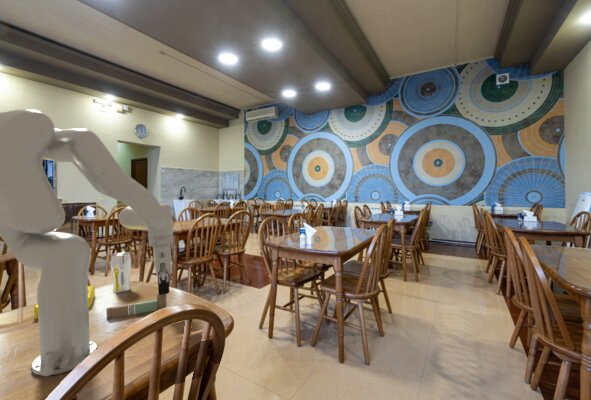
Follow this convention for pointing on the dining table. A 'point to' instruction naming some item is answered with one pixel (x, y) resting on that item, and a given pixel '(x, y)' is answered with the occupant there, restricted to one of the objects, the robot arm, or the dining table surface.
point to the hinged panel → (151, 304)
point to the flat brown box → (119, 311)
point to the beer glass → (121, 271)
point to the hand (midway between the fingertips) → (163, 288)
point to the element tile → (90, 299)
